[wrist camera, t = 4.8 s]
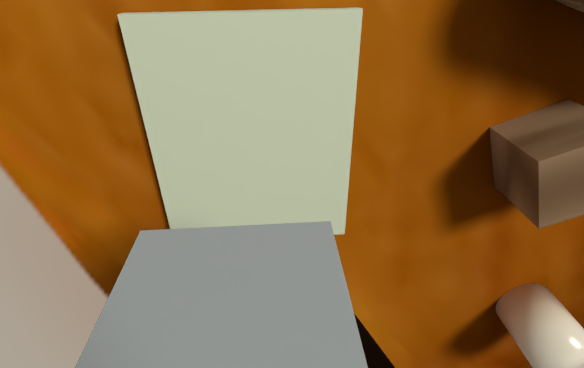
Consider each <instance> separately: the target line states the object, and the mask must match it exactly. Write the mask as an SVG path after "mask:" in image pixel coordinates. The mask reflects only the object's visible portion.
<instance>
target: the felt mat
mask: <svg viewBox="0 0 584 368" xmlns="http://www.w3.org/2000/svg"><path fill="white" fill-rule="evenodd" d="M362 13H363V9H362V8H317V9H272V10H227V11H182V12H137V13H120V14H117V16H118V20H119V24H120V28H121V32H122V36H123V40H124V44H125V48H126V52H127V56H128V60H129V64H130V68H131V72H132V76H133V80H134V84H135V88H136V93H137V97H138V101H139V105H140V109H141V113H142V117H143V121H144V125H145V129H146V133H147V137H148V141H149V145H150V149H151V153H152V157H153V161H154V165H155V170H156V174H157V178H158V182H159V186H160V190H161V194H162V198H163V202H164V206H165V210H166V214H167V218H168V222H169V226H170V229H182V228H202V227H222V226H242V225H262V224H282V223H302V222H322V221H331V225H332V229H333V233H334V235H335V234H345V223H346V210H347V198H348V186H349V173H350V161H351V149H352V136H353V124H354V112H355V99H356V87H357V75H358V62H359V50H360V38H361V25H362Z"/></svg>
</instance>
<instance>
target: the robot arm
mask: <svg viewBox="0 0 584 368" xmlns="http://www.w3.org/2000/svg"><path fill="white" fill-rule="evenodd" d="M354 315H355V314H354ZM355 319H356V323H357V327H358V331H359V335H360V339H361V342H362V346H363V350H364V354H365V358H366V362H367V366H368V368H395V367H394V366H393V364H392V363H391V362H390V360H389V359H388V358H387V356H386V355H385V354H384V352H383V351H382V350H381V348H380V347H379V346H378V344H377V343H376V342H375V340H374V339H373V338H372V336H371V335H370V334H369V332H368V331H367V330H366V328H365V327H364V326H363V324H362V323H361V322H360V321H359V319H358V318H357V317H356V315H355Z"/></svg>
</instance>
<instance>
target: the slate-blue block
mask: <svg viewBox="0 0 584 368" xmlns="http://www.w3.org/2000/svg"><path fill="white" fill-rule="evenodd" d="M75 368H368V366H367V362H366V358H365V354H364V350H363V346H362V342H361V339H360V335H359V331H358V327H357V323H356V319H355V315H354V311H353V307H352V303H351V299H350V296H349V292H348V288H347V284H346V280H345V276H344V272H343V268H342V264H341V260H340V257H339V253H338V249H337V245H336V241H335V237H334V233H333V229H332V225H331V221H322V222H302V223H282V224H262V225H242V226H222V227H202V228H182V229H162V230H142V231H140V233H139V235H138V237H137V239H136V241H135V243H134V245H133V247H132V249H131V251H130V254H129V256H128V258H127V260H126V262H125V264H124V266H123V268H122V270H121V272H120V275H119V277H118V279H117V281H116V283H115V285H114V287H113V289H112V291H111V293H110V296H109V298H108V300H107V302H106V304H105V306H104V308H103V310H102V313H101V314H100V317H99V319H98V321H97V323H96V325H95V327H94V330H93V332H92V333H91V336H90V338H89V340H88V342H87V344H86V346H85V348H84V350H83V352H82V354H81V357H80V359H79V361H78V363H77V365H76V367H75Z"/></svg>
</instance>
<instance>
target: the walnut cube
mask: <svg viewBox="0 0 584 368" xmlns="http://www.w3.org/2000/svg"><path fill="white" fill-rule="evenodd" d="M490 139H491V151H492V162H493V174H494V186H495V187H496V188H497V189H498V190H499V191H500V192H501V193H502V194H503V195H504V196H505V197H506V198H507V199H508V200H509V201H510V202H511V203H512V204H514V205H515V206H516V207H517V208H518V209H519V210H520V211H521V212H522V213H523V214H524V215H525V216H526V217H527V218H528V219H529V220H530V221H531V222H533V223H534V224H535V225H536V226H537V227H538V228H542V227H546V226H549V225H552V224H555V223H559V222H562V221H565V220H568V219H571V218H575V217H578V216H581V215H584V106H583V105H581V104H578V103H576V102H574V101H571V100H569V99H567V100H565V101H562V102H559V103H556V104H553V105H551V106H548V107H545V108H542V109H539V110H536V111H534V112H531V113H528V114H525V115H522V116H520V117H517V118H514V119H511V120H508V121H505V122H503V123H500V124H497V125H494V126H491V127H490Z"/></svg>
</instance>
